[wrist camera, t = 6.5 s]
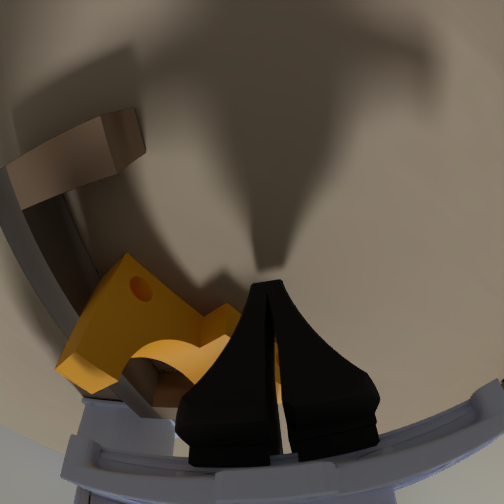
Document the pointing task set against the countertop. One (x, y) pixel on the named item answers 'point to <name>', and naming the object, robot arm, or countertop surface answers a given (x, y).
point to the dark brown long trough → (77, 239)
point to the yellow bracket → (144, 330)
